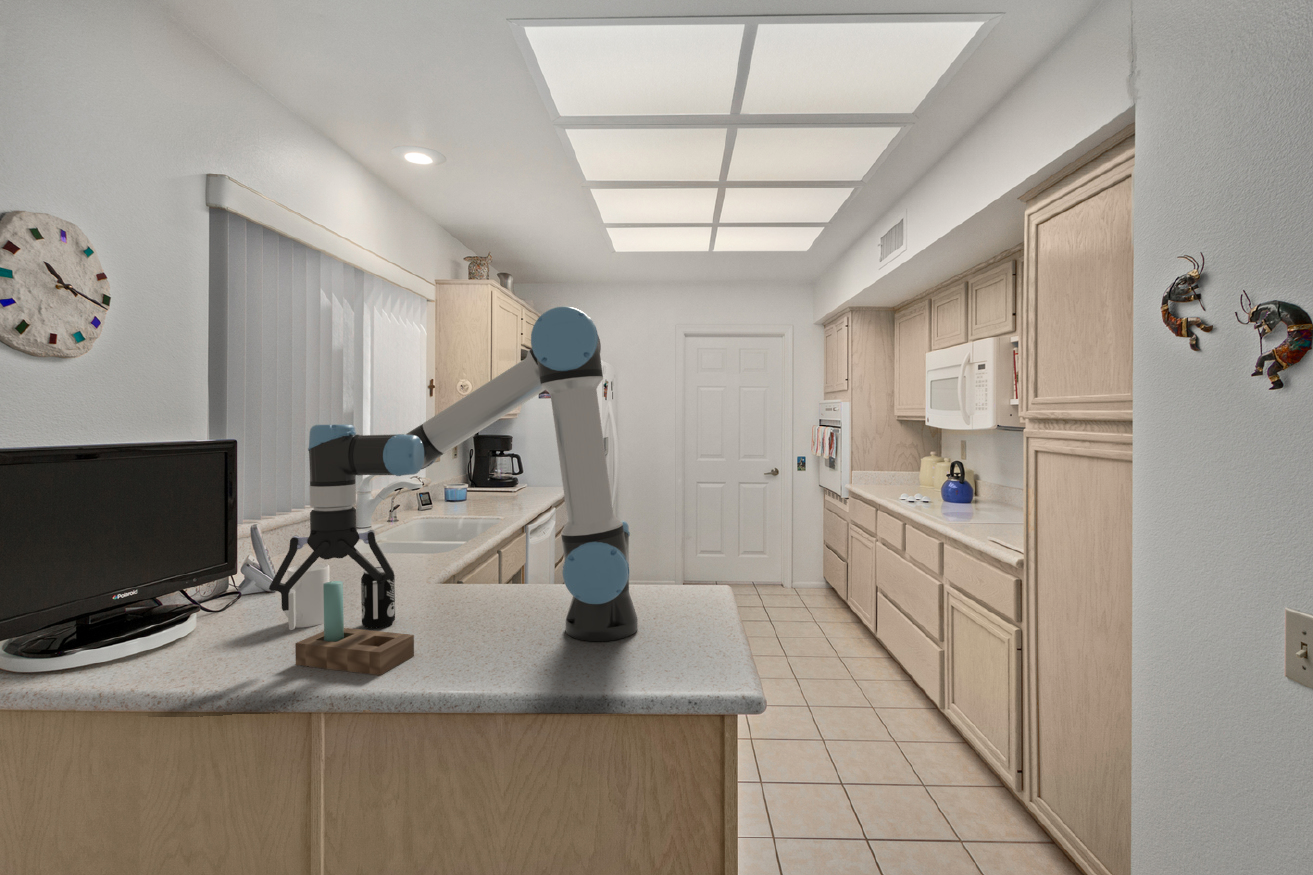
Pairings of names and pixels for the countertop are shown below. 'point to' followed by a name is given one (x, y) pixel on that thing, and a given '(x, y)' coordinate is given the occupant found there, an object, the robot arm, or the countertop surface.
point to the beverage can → (384, 605)
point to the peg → (333, 611)
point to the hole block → (356, 651)
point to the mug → (309, 595)
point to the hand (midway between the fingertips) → (335, 622)
